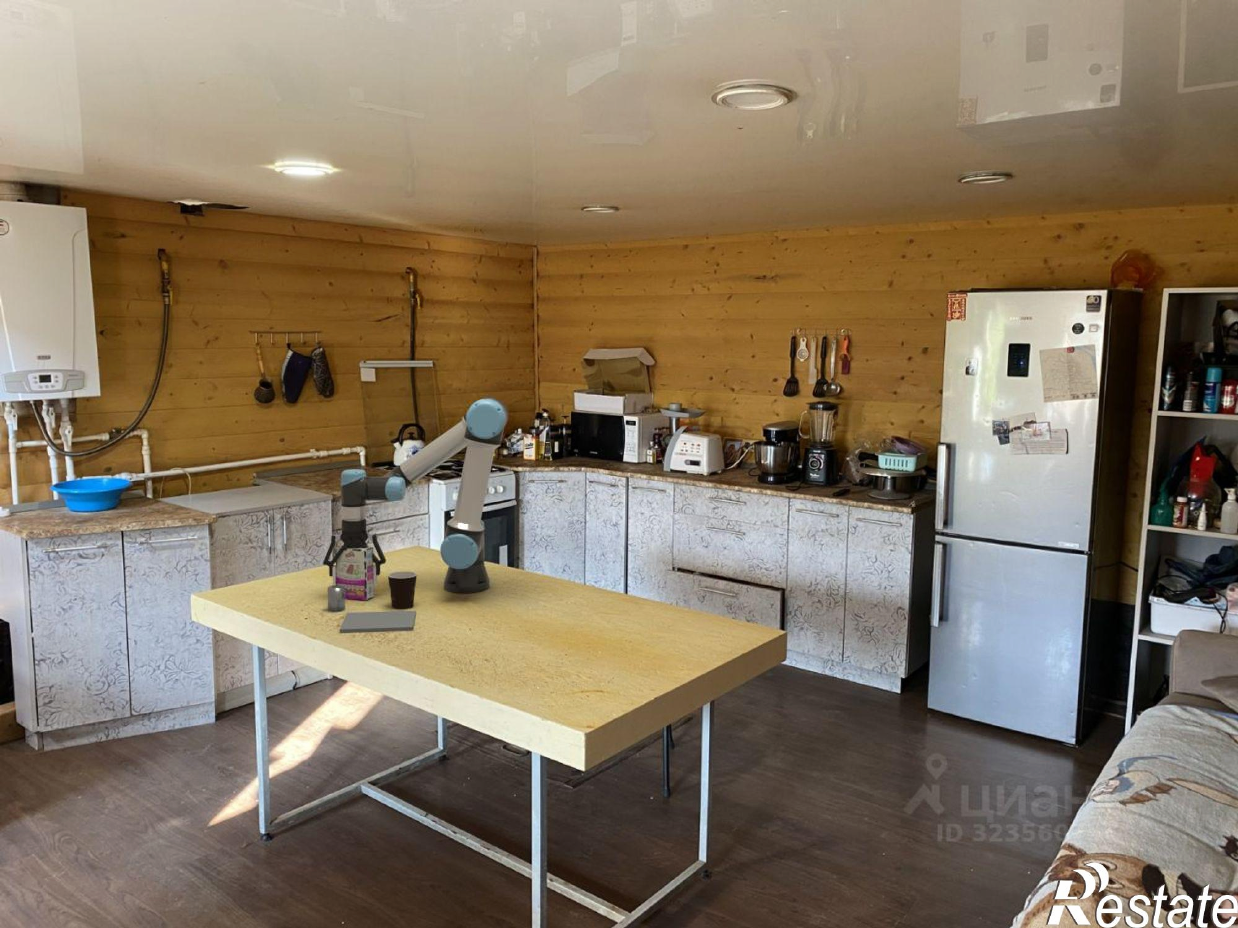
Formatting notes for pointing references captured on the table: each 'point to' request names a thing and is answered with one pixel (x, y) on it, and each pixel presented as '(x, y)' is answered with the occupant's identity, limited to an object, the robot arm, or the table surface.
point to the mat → (378, 621)
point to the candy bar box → (356, 572)
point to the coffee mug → (402, 589)
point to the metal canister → (336, 598)
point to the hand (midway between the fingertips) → (355, 585)
